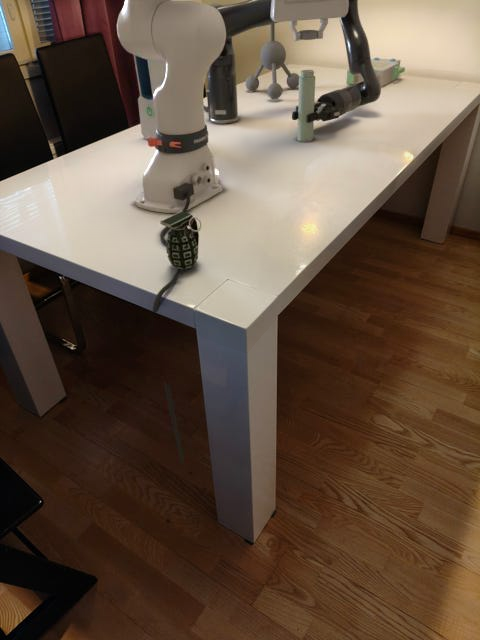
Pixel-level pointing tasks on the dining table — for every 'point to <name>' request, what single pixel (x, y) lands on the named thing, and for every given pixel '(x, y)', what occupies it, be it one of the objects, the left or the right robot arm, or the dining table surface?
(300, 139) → the mint green cylinder
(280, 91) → the molecular model
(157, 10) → the left robot arm
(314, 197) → the dining table surface
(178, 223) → the grenade
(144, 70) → the electronic device
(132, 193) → the dining table surface
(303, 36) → the lid
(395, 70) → the grey box with clips
